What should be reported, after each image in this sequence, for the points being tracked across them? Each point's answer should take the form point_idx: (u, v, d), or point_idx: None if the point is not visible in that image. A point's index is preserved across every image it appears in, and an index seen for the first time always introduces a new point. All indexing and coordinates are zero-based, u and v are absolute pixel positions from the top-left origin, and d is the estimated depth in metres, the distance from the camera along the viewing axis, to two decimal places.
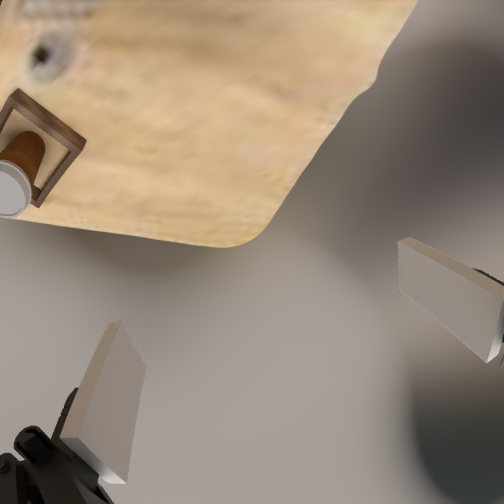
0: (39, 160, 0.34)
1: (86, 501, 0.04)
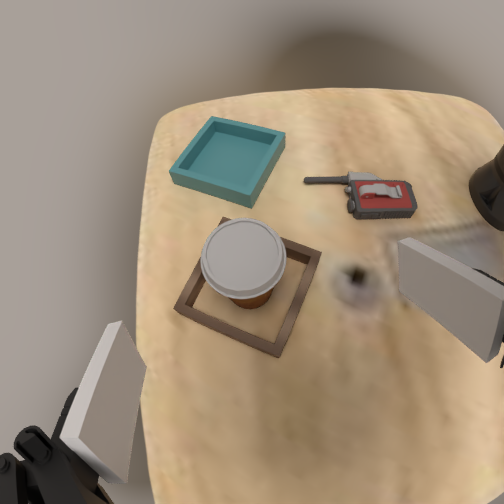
0: (254, 304, 0.38)
1: (86, 501, 0.04)
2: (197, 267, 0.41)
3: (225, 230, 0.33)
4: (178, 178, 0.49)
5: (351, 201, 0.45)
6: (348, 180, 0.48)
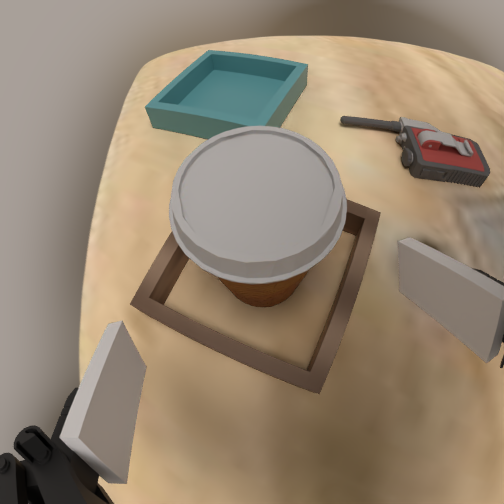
0: (273, 298, 0.20)
1: (86, 501, 0.04)
2: (173, 234, 0.24)
3: (222, 147, 0.16)
4: (158, 117, 0.32)
5: (408, 150, 0.28)
6: (400, 127, 0.30)
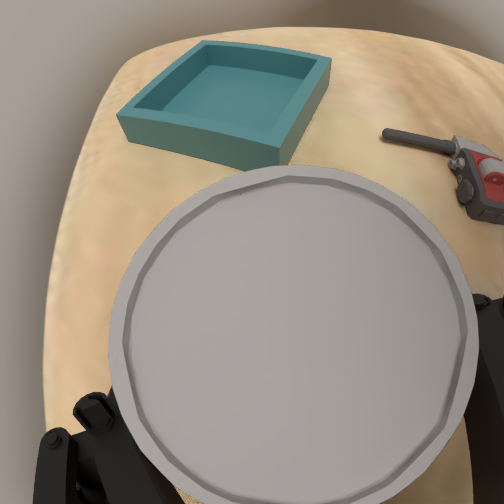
0: None
1: (147, 473, 0.05)
2: None
3: (220, 217, 0.07)
4: (133, 128, 0.23)
5: (469, 183, 0.19)
6: (455, 149, 0.22)
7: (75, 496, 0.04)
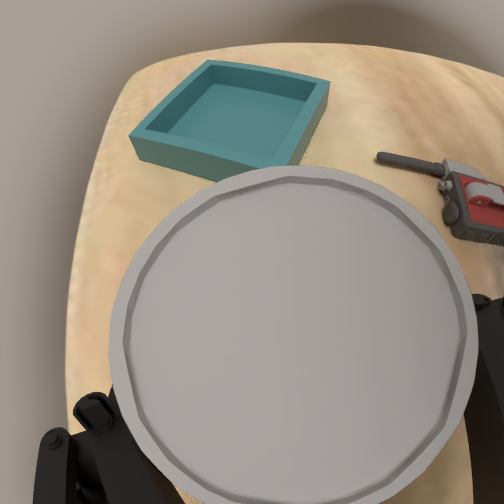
0: None
1: (147, 473, 0.05)
2: None
3: (220, 217, 0.07)
4: (145, 148, 0.26)
5: (454, 205, 0.22)
6: (445, 171, 0.25)
7: (75, 496, 0.04)
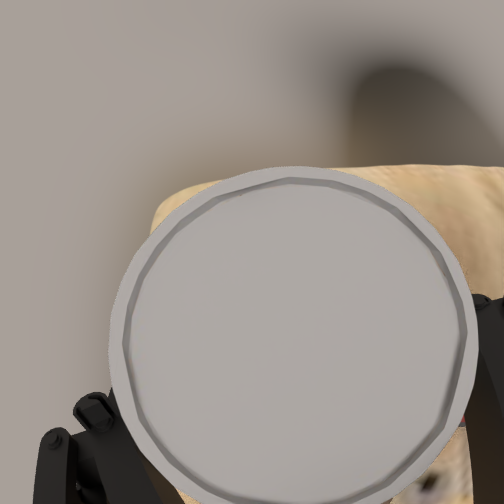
0: None
1: (147, 473, 0.05)
2: None
3: (220, 218, 0.07)
4: None
5: None
6: None
7: (75, 496, 0.04)
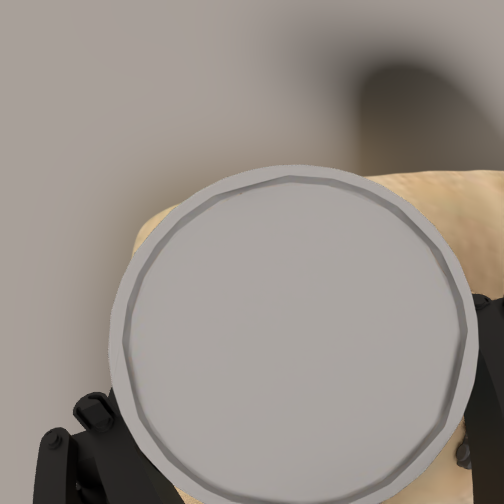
0: None
1: (147, 473, 0.05)
2: None
3: (220, 216, 0.07)
4: None
5: (467, 452, 0.19)
6: None
7: (75, 496, 0.04)
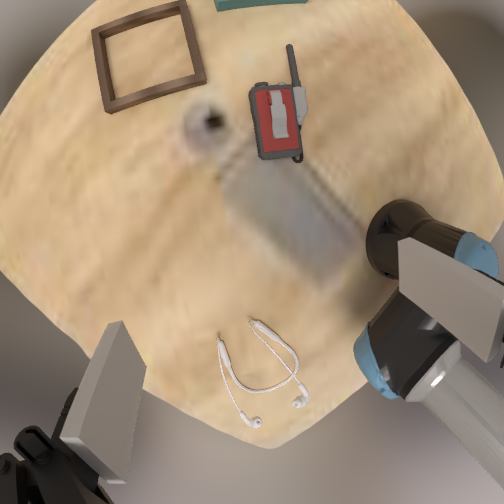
0: None
1: (86, 501, 0.04)
2: (130, 16, 0.31)
3: None
4: None
5: (263, 83, 0.39)
6: (294, 86, 0.40)
7: None
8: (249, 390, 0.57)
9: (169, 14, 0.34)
